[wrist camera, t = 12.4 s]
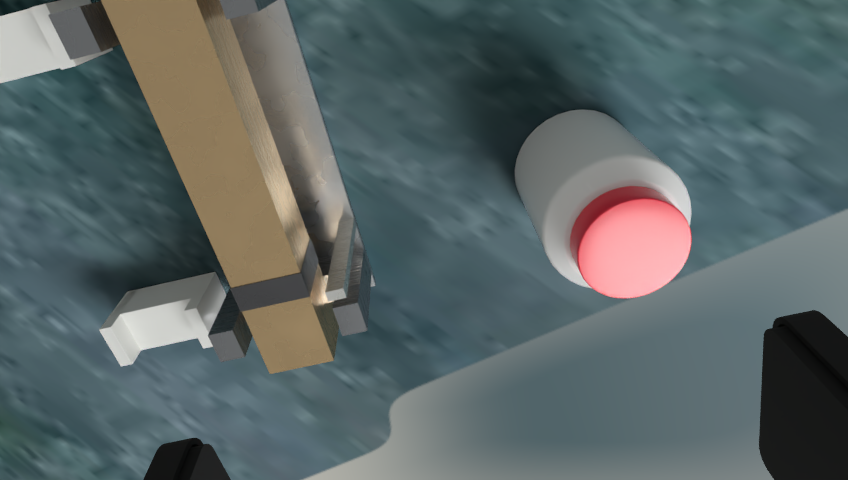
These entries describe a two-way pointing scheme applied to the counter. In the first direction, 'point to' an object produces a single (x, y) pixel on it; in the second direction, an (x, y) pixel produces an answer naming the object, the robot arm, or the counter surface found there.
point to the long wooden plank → (231, 171)
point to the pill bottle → (603, 204)
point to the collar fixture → (296, 144)
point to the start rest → (139, 309)
